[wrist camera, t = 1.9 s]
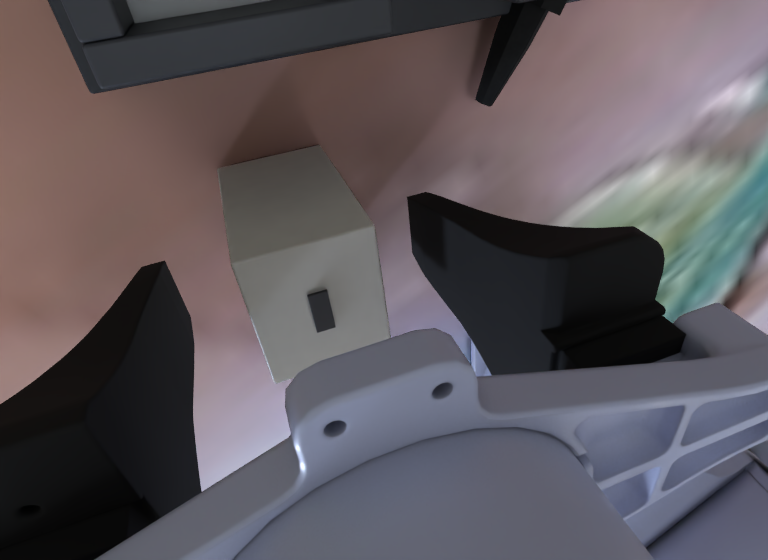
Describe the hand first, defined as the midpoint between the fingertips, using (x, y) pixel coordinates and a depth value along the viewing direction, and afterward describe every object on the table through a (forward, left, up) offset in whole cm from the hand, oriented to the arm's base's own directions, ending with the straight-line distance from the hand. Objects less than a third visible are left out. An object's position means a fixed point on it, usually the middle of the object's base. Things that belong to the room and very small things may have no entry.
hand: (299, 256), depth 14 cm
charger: (0, 0, -3) cm, 3 cm away
